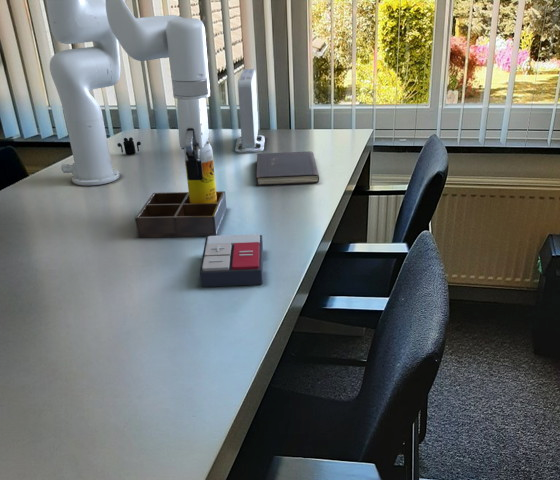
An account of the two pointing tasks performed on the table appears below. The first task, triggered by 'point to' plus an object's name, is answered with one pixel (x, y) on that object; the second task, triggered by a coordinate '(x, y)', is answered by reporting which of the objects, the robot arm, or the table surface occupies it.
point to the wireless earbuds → (129, 146)
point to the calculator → (232, 260)
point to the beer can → (206, 187)
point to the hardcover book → (286, 168)
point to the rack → (180, 216)
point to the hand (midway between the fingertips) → (199, 172)
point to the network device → (248, 113)
